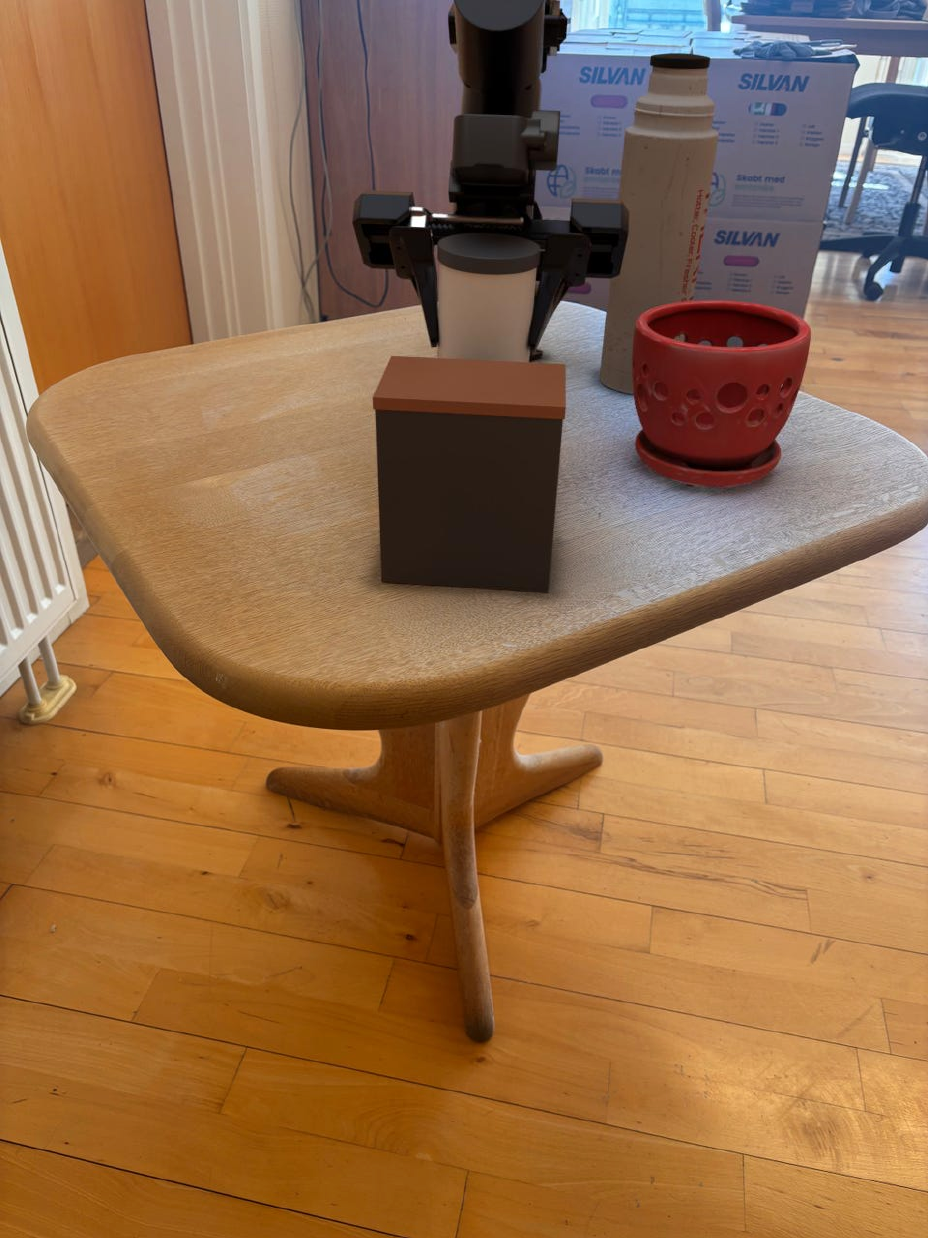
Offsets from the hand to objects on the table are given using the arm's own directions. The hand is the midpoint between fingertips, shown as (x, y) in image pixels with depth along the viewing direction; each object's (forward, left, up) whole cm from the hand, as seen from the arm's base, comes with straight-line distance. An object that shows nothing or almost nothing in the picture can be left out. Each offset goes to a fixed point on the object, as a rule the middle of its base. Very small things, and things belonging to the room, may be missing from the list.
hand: (482, 347), depth 64 cm
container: (-1, -1, -7) cm, 7 cm away
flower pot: (-19, +6, -12) cm, 23 cm away
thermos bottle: (-30, -10, -12) cm, 34 cm away
